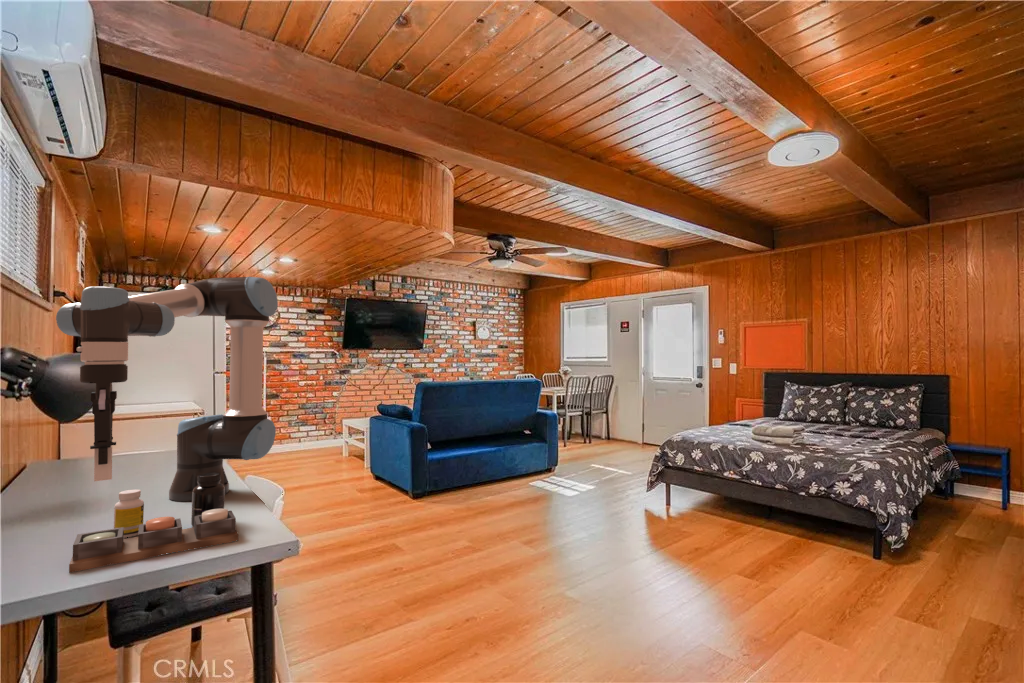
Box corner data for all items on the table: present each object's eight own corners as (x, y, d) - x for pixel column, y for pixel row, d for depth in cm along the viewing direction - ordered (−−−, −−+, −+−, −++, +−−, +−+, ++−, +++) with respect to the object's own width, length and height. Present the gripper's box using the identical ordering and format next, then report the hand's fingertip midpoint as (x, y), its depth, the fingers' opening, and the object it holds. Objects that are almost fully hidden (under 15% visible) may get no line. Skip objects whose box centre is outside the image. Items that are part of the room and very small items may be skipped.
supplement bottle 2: (186, 529, 118) (188, 478, 118) (196, 521, 124) (197, 472, 125) (219, 527, 119) (220, 476, 120) (227, 518, 126) (228, 470, 127)
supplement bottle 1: (145, 534, 115) (146, 491, 115) (116, 540, 111) (117, 495, 111) (140, 529, 118) (141, 487, 119) (110, 535, 114) (112, 491, 115)
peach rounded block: (226, 517, 116) (226, 507, 116) (228, 523, 112) (229, 512, 112) (200, 521, 113) (201, 511, 113) (202, 527, 109) (202, 516, 109)
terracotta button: (173, 526, 110) (174, 515, 110) (174, 532, 106) (175, 520, 106) (145, 530, 107) (146, 519, 107) (145, 537, 103) (145, 525, 103)
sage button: (115, 542, 104) (116, 530, 104) (114, 549, 100) (114, 537, 100) (84, 547, 101) (84, 535, 101) (81, 555, 97) (81, 542, 97)
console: (231, 527, 119) (231, 508, 119) (238, 540, 110) (238, 520, 110) (76, 554, 103) (76, 532, 103) (68, 572, 94) (69, 548, 94)
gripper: (83, 363, 105) (82, 476, 105) (76, 364, 95) (74, 489, 94) (128, 362, 110) (127, 470, 109) (126, 363, 99) (125, 483, 99)
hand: (103, 479), depth 102 cm, fingers closed
